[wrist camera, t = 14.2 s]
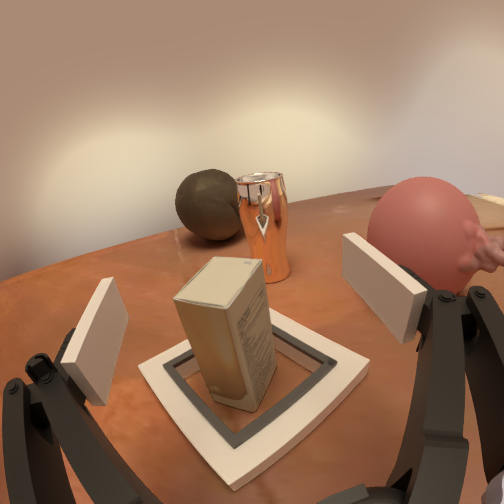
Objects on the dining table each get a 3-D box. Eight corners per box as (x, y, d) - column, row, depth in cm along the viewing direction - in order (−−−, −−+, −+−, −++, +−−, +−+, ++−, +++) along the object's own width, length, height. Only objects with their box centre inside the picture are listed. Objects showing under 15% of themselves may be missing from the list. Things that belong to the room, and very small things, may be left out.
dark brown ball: (241, 223, 67) (232, 161, 61) (257, 243, 55) (246, 167, 48) (184, 235, 65) (170, 173, 59) (185, 260, 52) (167, 182, 46)
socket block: (144, 378, 26) (135, 362, 25) (257, 312, 35) (254, 296, 34) (234, 491, 14) (227, 483, 13) (367, 373, 23) (370, 356, 22)
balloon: (447, 374, 20) (496, 223, 13) (342, 285, 37) (340, 173, 31) (508, 313, 23) (536, 198, 17) (413, 256, 41) (419, 164, 35)
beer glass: (242, 283, 42) (225, 184, 35) (256, 262, 48) (243, 173, 41) (288, 286, 39) (277, 180, 33) (297, 262, 45) (288, 170, 39)
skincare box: (239, 358, 28) (215, 253, 23) (278, 365, 26) (265, 256, 21) (210, 403, 23) (168, 296, 18) (254, 416, 21) (226, 306, 16)
